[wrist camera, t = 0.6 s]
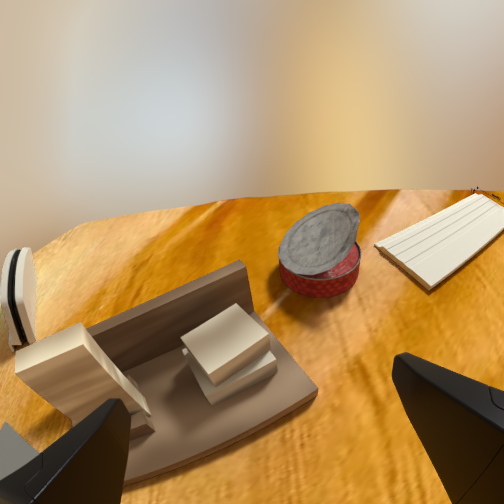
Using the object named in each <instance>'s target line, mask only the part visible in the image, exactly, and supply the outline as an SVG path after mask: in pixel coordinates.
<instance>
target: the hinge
mask: <svg viewBox="0 0 504 504" xmlns="http://www.w3.org/2000/svg"><path fill="white" fill-rule="evenodd" d="M37 279H38V277H37V273H36V269H35V265H34V261H33V257H32V252H31V249H30V248H26V247H24V248H22V250H18V249H14V250H12V251H10V252H9V253H8V255H7V257H6V259H5V262H4V266H3V270H2V277H1V288H0V303H1V307H2V310H3V314H4V317H5V320H6V323H7V326H8V328H9V338H8V345H9V347H10V349H11V351H12V352H14V351H15V345H21V344H22V342H23V336H24V337H25V340H26V341H28V342H29V344H31V343H34V342H35V341H36V295H37Z"/></svg>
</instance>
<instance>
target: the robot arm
mask: <svg viewBox="0 0 504 504" xmlns="http://www.w3.org/2000/svg"><path fill="white" fill-rule="evenodd" d="M392 380H393V382H394V385H395V387H396V390H397V392H398V394H399V397H400V399H401V402H402V404H403V407H404V409H405V412H406V414H407V416H408V418H409V420H410V422H411V424H412V426H413V428H414V429H415V431H416V433H417V435H418V437H419V439H420V441H421V442H422V444H423V446H424V448H425V450H426V452H427V454H428V456H429V458H430V460H431V462H432V464H433V466H434V468H435V470H436V472H437V474H438V476H439V478H440V480H441V482H442V484H443V486H444V488H445V490H446V492H447V494H448V496H449V498H450V500H451V502H452V504H504V391H502V390H499V389H497V388H494V387H491V386H488V385H486V384H483V383H481V382H478V381H476V380H473V379H471V378H468V377H466V376H463V375H461V374H458V373H456V372H453V371H451V370H448V369H446V368H444V367H441V366H439V365H436V364H434V363H431V362H429V361H427V360H424V359H422V358H419V357H417V356H415V355H412V354H410V353H407V352H404V353H401V354H398V355H396V356H395V357H394V362H393V369H392ZM130 430H131V415H130V413H129V411H128V410H127V408H126V406H125V404H124V402H123V401H122V400H121V399H120V398H109V399H107V400H106V401H105V402H104V403H103V404H101V405H100V406H99V407H98V408H96V409H95V410H94V411H93V412H91V413H90V414H89V415H88V416H87V417H85V418H84V419H83V420H82V421H80V422H79V423H78V424H77V425H75V426H74V427H73V428H72V429H70V430H69V431H68V432H67V433H65V434H64V435H63V436H61V437H60V438H59V439H58V440H56V441H55V442H54V443H53V444H51V445H50V446H49V447H48V448H46V449H45V450H44V451H43V452H41V453H40V454H39V455H37V456H36V457H35V458H33V459H32V460H31V461H29V462H28V463H27V464H25V465H24V466H22V467H20V468H19V469H17V470H16V471H14V472H13V473H11V474H9V475H8V476H6V477H4V478H3V479H1V480H0V504H120V503H121V496H122V490H123V484H124V478H125V473H126V467H127V462H128V455H129V442H130Z"/></svg>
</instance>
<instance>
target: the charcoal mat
mask: <svg viewBox="0 0 504 504" xmlns="http://www.w3.org/2000/svg"><path fill="white" fill-rule="evenodd" d="M39 454H40V453H39V452H38V451H36V450H35V449H34V448H33V447H32V446H31V445H30V444H29V443H27V442H26V441H25V440H24V439H23V438H22V437H21V436H20V435H19V434H18V433H17V432H16V431H15V430H14V429H13V428H12V427H11V426H10V425H9V424H8V423H7V422H5V423H4V425H3V427H2V428H1V430H0V480H1V479H3V478H4V477H6V476H8V475H9V474H11V473H13V472H14V471H16V470H17V469H19V468H20V467H22V466H24V465H25V464H27V463H28V462H29V461H31V460H32V459H33V458H35V457H36V456H37V455H39Z"/></svg>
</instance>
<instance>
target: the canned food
mask: <svg viewBox="0 0 504 504" xmlns="http://www.w3.org/2000/svg"><path fill="white" fill-rule="evenodd" d="M359 219H360V218H359V212H358V211H357V210H356V209H355V208H354V207H353V206H351V205H350V204H343V203H335V204H332V205H327V206H323V207H321V208H319V209H317V210H315V211H313V212H310V213H308V214H307V215H306V216H305V217H303V218H302V219H300V220H299V221H297V222H296V223H295V224H294V225H293V226H292V228H291V229H290V230H289V231H288V232H287V233H286V234H285V236H284V239H283V241H282V242H281V244H280V247H279V251H278V255H279V264H280V274H281V277H282V280H283V281H284V283H285V284H286V285H287V286H288V287H289V288H290V289H292V290H293V291H295V292H297V293H299V294H302V295H305V296H309V297H314V298H325V297H332V296H335V295H339V294H341V293H343V292H345V291H347V290H348V289H349V288H351V287H352V286H353V284H354V283H355V282H356V280H357V278H358V273H359V265H360V259H361V249H360V247H359V245H358V243H357V242H356V237H357V230H358V226H359Z"/></svg>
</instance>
